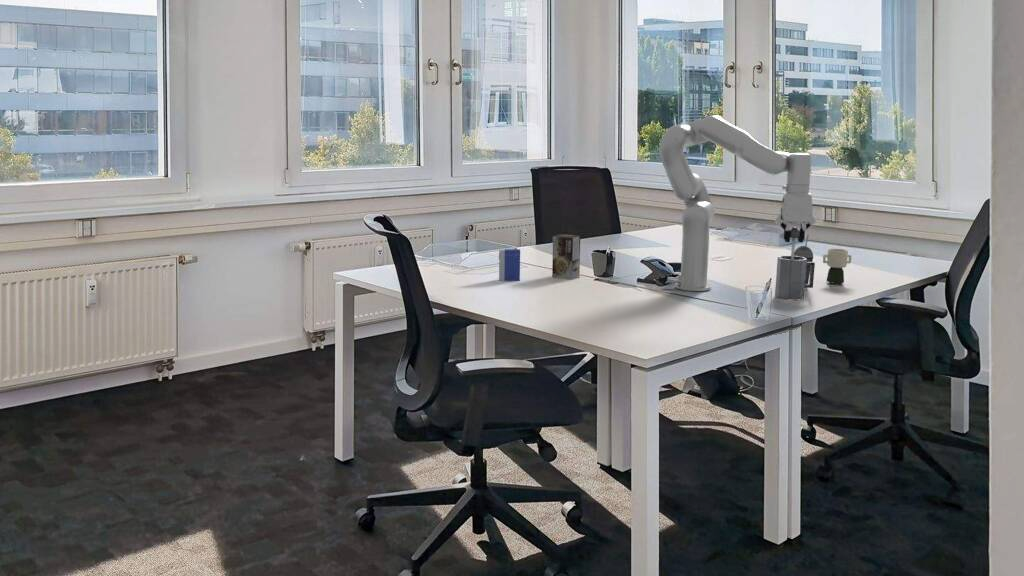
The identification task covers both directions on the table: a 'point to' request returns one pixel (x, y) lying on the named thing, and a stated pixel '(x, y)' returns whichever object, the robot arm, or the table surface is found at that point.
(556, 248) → the coffee box
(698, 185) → the robot arm
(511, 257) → the walkman
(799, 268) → the carafe
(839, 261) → the character mug
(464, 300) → the table surface
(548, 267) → the table surface
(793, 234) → the plunger
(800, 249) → the beverage cup
